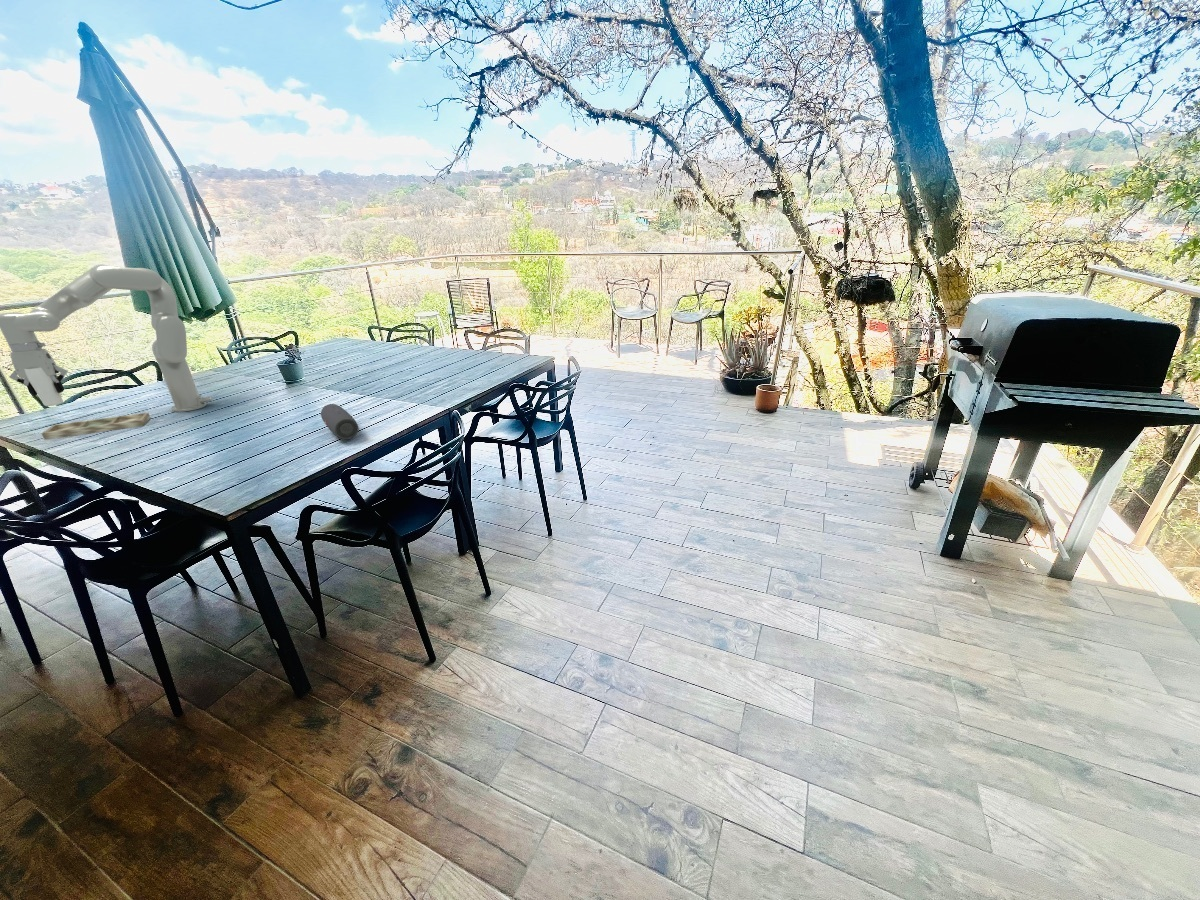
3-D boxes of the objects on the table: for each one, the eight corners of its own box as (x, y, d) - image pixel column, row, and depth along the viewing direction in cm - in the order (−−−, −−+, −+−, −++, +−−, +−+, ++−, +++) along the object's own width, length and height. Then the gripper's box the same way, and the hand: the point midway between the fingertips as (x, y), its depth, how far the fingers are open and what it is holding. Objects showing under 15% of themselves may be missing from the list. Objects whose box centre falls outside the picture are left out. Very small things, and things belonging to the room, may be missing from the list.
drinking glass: (50, 407, 183) (30, 369, 177) (36, 406, 184) (17, 368, 178) (71, 402, 189) (53, 365, 183) (58, 401, 190) (39, 364, 184)
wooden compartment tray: (150, 418, 207) (148, 412, 206) (143, 425, 198) (141, 420, 197) (56, 430, 194) (53, 424, 193) (44, 439, 185) (41, 433, 184)
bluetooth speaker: (322, 428, 195) (316, 405, 191) (346, 422, 200) (341, 400, 196) (336, 445, 179) (330, 420, 175) (362, 439, 185) (357, 414, 180)
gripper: (61, 343, 184) (82, 387, 192) (-3, 347, 177) (22, 394, 184) (53, 346, 178) (75, 392, 186) (-14, 351, 171) (12, 399, 178)
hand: (48, 392), depth 185 cm, fingers closed on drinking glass, 6 cm apart
